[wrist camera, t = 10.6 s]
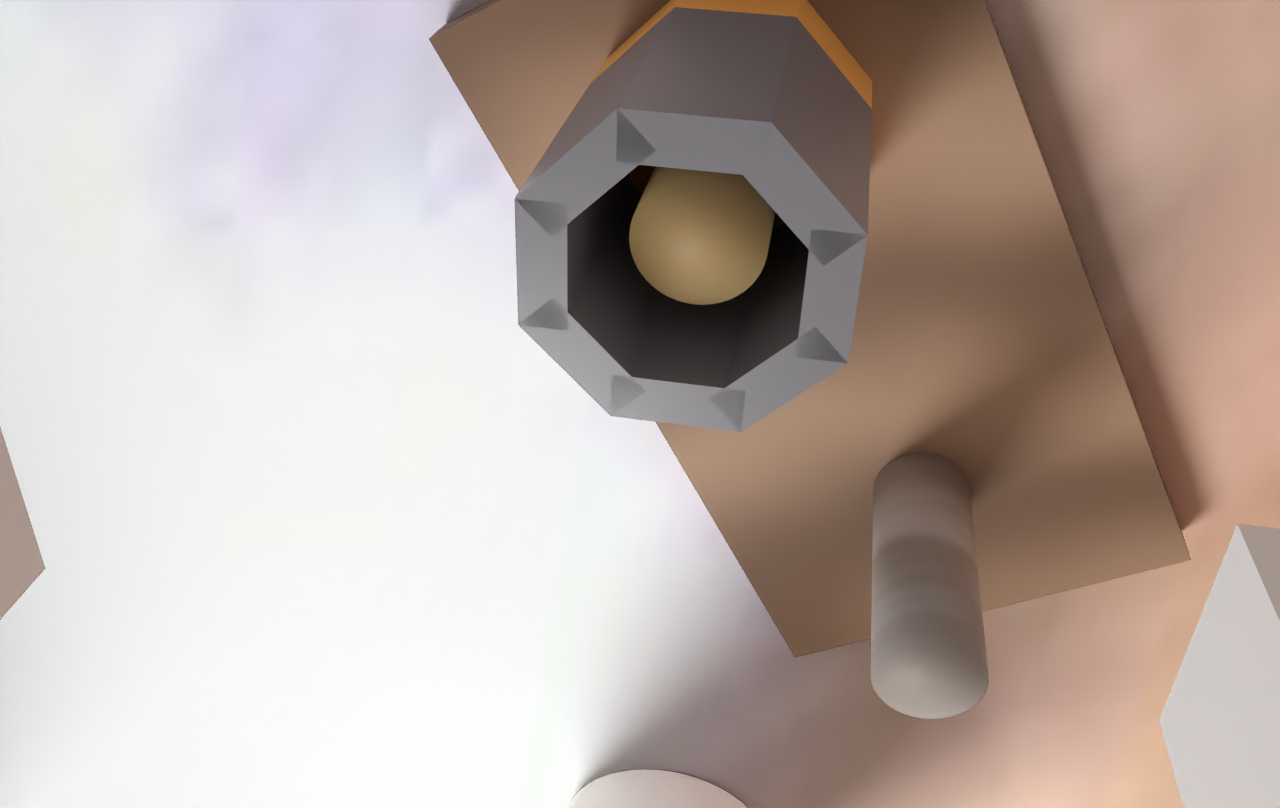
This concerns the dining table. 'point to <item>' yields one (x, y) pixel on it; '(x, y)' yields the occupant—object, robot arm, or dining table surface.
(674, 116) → the sleeve
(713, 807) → the cup
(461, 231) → the dining table surface
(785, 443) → the pin board
